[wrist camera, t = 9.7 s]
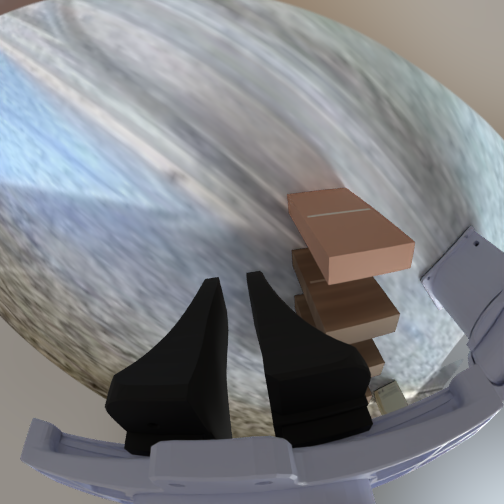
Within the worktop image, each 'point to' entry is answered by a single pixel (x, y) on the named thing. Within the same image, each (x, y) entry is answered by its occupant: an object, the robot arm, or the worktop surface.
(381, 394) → the skincare box
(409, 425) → the robot arm
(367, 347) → the walnut tile
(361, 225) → the terracotta tile
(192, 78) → the worktop surface
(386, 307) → the walnut tile
